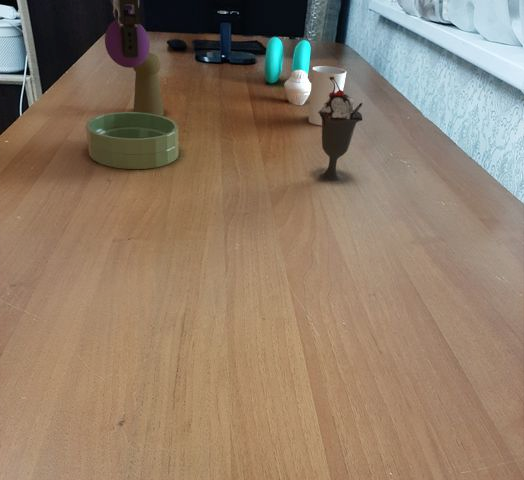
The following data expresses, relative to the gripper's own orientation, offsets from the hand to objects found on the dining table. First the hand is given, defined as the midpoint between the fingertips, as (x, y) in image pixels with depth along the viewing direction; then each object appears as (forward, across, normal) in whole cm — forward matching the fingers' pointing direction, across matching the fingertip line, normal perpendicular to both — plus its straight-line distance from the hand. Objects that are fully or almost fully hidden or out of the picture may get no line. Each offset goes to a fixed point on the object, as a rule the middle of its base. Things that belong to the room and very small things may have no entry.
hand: (127, 51), depth 84 cm
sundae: (+16, +13, +29) cm, 36 cm away
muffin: (+16, -31, +39) cm, 52 cm away
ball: (-1, 0, 0) cm, 1 cm away
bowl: (+16, 0, 0) cm, 16 cm away
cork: (+16, -23, +5) cm, 28 cm away
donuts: (+16, -47, +42) cm, 65 cm away
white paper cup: (+16, -16, +39) cm, 45 cm away
